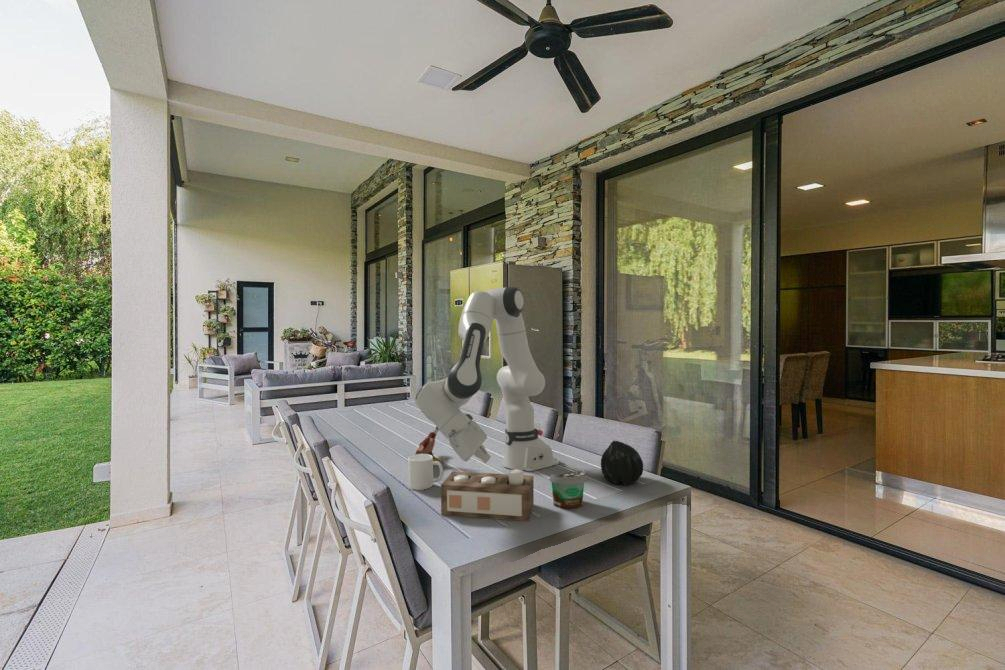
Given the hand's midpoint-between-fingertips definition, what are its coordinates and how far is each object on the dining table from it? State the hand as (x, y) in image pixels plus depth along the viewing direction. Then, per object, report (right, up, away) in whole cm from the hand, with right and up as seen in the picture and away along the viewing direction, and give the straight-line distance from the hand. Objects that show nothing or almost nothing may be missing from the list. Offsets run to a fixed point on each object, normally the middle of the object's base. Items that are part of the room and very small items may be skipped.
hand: (488, 460), depth 139 cm
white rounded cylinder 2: (+8, -8, -1) cm, 12 cm away
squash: (+47, -14, +24) cm, 54 cm away
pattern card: (-1, -14, -6) cm, 15 cm away
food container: (+26, -15, +2) cm, 30 cm away
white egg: (-8, -11, +2) cm, 14 cm away
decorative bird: (-25, -14, +46) cm, 54 cm away
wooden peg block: (0, -15, 0) cm, 15 cm away
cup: (-22, -15, +20) cm, 33 cm away
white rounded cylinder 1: (0, -11, 0) cm, 11 cm away
